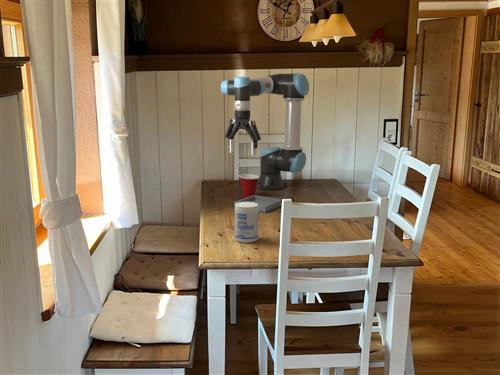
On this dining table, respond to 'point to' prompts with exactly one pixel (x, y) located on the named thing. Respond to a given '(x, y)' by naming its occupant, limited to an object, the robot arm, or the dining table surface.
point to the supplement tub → (246, 221)
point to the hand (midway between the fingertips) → (242, 153)
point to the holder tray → (263, 202)
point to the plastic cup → (248, 184)
